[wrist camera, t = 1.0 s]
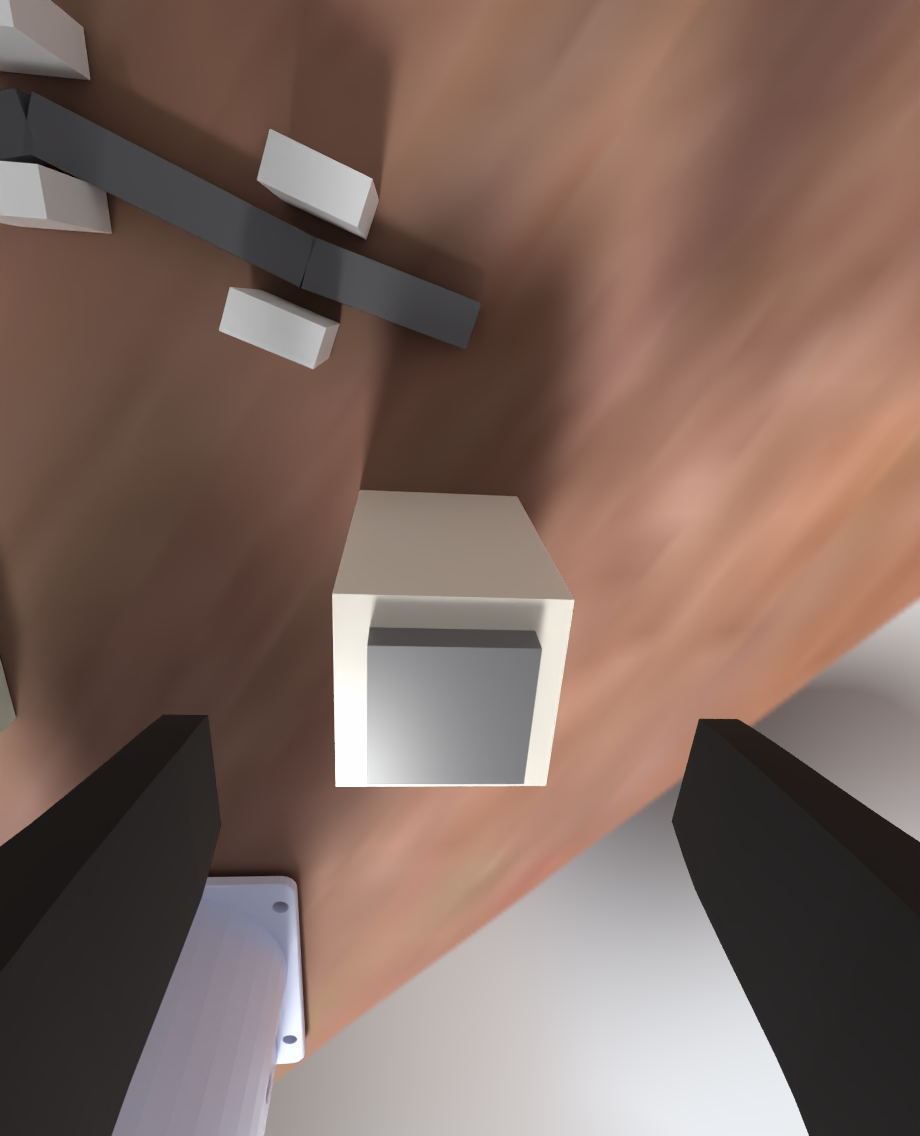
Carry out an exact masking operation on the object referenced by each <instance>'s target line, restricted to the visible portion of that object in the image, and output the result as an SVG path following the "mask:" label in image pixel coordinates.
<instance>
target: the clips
mask: <svg viewBox="0 0 920 1136" xmlns="http://www.w3.org/2000/svg"><path fill="white" fill-rule="evenodd" d="M0 71H3V72H13V73H23V74H33V75H43V76H53V77H63V78H74V79H84V80H91V79H90V72H89V65H88V58H87V51H86V43H85V36H84V29H83V27H82V26H81V25H80V24H79V23H77V22H76V21H75V20H74V19H73V18H71V17H70V16H69V15H68V14H67V13H65V12H64V11H63V10H62V9H61V8H60V7H58V6H57V5H56V4H55V3H54V2H52V1H51V0H0ZM257 181H258V182H260V183H261V184H262V185H264V186H265V187H266V188H267V189H269V190H270V191H271V192H272V193H274V194H275V195H276V196H277V197H279V198H280V199H281V200H282V201H284V202H286V203H288V204H290V205H292V206H294V207H296V208H298V209H301V210H303V211H305V212H307V213H309V214H311V215H314V216H316V217H318V218H320V219H322V220H324V221H326V222H329V223H331V224H333V225H335V226H337V227H339V228H342V229H344V230H346V231H348V232H350V233H352V234H354V235H357V236H359V237H361V238H363V239H365V240H367V237H368V233H369V230H370V227H371V224H372V221H373V218H374V215H375V212H376V209H377V205H378V202H379V199H378V195H377V192H376V188H375V185H374V182H373V179H372V178H370V177H368V176H366V175H364V174H362V173H360V172H358V171H356V170H354V169H352V168H349V167H347V166H345V165H343V164H341V163H339V162H337V161H335V160H333V159H331V158H329V157H327V156H325V155H323V154H321V153H319V152H317V151H315V150H313V149H311V148H309V147H307V146H304V145H302V144H300V143H298V142H296V141H294V140H292V139H290V138H288V137H286V136H284V135H282V134H280V133H278V132H276V131H274V130H272V129H270V130H269V134H268V138H267V142H266V146H265V149H264V153H263V157H262V161H261V165H260V169H259V173H258V177H257ZM0 223H3V224H9V225H14V226H19V227H31V228H44V229H56V230H69V231H82V232H95V233H108V234H112V231H111V223H110V216H109V209H108V202H107V195H106V191H104V190H102V189H100V188H98V187H96V186H94V185H92V184H90V183H88V182H85V181H82V180H79V179H77V178H74V177H71V176H69V175H66V174H63V173H60V172H58V171H55V170H52V169H50V168H47V167H44V166H41V165H39V164H31V163H19V162H8V161H0ZM339 325H340V323H338V322H335V321H333V320H331V319H328V318H326V317H324V316H321V315H319V314H317V313H314V312H312V311H310V310H307V309H305V308H303V307H300V306H298V305H296V304H293V303H291V302H289V301H286V300H284V299H282V298H279V297H277V296H275V295H272V294H270V293H268V292H265V291H263V290H261V289H249V288H237V287H230V289H229V293H228V296H227V300H226V304H225V308H224V312H223V316H222V320H221V324H220V328H219V331H221V332H223V333H226V334H228V335H231V336H233V337H235V338H238V339H240V340H243V341H245V342H248V343H250V344H253V345H255V346H257V347H260V348H262V349H265V350H267V351H270V352H272V353H275V354H277V355H279V356H282V357H284V358H287V359H289V360H292V361H294V362H297V363H299V364H301V365H304V366H306V367H309V368H311V369H314V368H316V367H317V366H318V365H320V364H321V363H323V362H324V361H326V360H327V359H328V358H329V356H330V353H331V350H332V347H333V343H334V340H335V337H336V334H337V331H338V328H339Z"/></svg>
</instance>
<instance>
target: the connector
mask: <svg viewBox="0 0 920 1136" xmlns="http://www.w3.org/2000/svg"><path fill="white" fill-rule="evenodd" d="M573 606H574V598H573V596H572V595H571V593H570V591H569V589H568V587H567V585H566V584H565V582H564V580H563V578H562V576H561V575H560V573H559V571H558V569H557V567H556V566H555V564H554V562H553V560H552V558H551V557H550V555H549V553H548V551H547V549H546V548H545V546H544V544H543V542H542V540H541V539H540V537H539V535H538V533H537V531H536V529H535V528H534V526H533V524H532V522H531V520H530V519H529V517H528V515H527V513H526V511H525V510H524V508H523V506H522V504H521V502H520V501H519V499H518V497H517V496H496V495H471V494H447V493H423V492H399V491H375V490H360V491H359V494H358V498H357V502H356V506H355V509H354V513H353V517H352V521H351V525H350V528H349V532H348V536H347V540H346V543H345V547H344V551H343V555H342V559H341V562H340V566H339V570H338V574H337V578H336V581H335V585H334V589H333V593H332V609H333V663H334V718H335V772H336V787H366V786H546V782H547V776H548V769H549V762H550V756H551V749H552V743H553V736H554V730H555V723H556V717H557V710H558V704H559V697H560V691H561V684H562V678H563V671H564V665H565V658H566V652H567V645H568V639H569V632H570V626H571V619H572V613H573Z"/></svg>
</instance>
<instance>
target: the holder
mask: <svg viewBox="0 0 920 1136" xmlns="http://www.w3.org/2000/svg"><path fill="white" fill-rule="evenodd" d="M15 719H16V716H15V712H14V709H13V705H12V701H11V697H10V694H9V690H8V686H7V682H6V679H5V675H4V671H3V667H2V663H1V660H0V735H1V734H2V733H3V732H4V731H5V729H6V728H7V727H8V726H9V725H10V724H11V723H12V722H13V721H14V720H15Z"/></svg>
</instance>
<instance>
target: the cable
mask: <svg viewBox="0 0 920 1136" xmlns="http://www.w3.org/2000/svg"><path fill="white" fill-rule="evenodd" d="M0 161H8V162H19V163H31V164H39V165H44V164H51V165H53V166H55V167H57V168H59V169H61V170H63V171H65V172H67V173H69V174H71V175H73V176H75V177H77V178H79V179H81V180H83V181H86V182H88V183H90V184H92V185H94V186H96V187H98V188H100V189H102V190H104V191H106V192H108V193H110V194H112V195H114V196H116V197H118V198H120V199H122V200H124V201H126V202H128V203H130V204H132V205H134V206H136V207H138V208H140V209H142V210H144V211H146V212H148V213H150V214H152V215H154V216H156V217H158V218H160V219H162V220H164V221H166V222H168V223H170V224H172V225H174V226H177V227H179V228H181V229H183V230H185V231H187V232H189V233H191V234H193V235H195V236H197V237H199V238H201V239H203V240H205V241H207V242H209V243H211V244H213V245H215V246H217V247H219V248H221V249H223V250H225V251H227V252H229V253H231V254H233V255H235V256H237V257H239V258H241V259H243V260H245V261H247V262H249V263H251V264H253V265H255V266H257V267H259V268H261V269H263V270H265V271H268V272H270V273H272V274H274V275H276V276H278V277H280V278H282V279H284V280H286V281H288V282H290V283H292V284H294V285H296V286H298V287H301V288H303V289H305V290H308V291H311V292H313V293H316V294H319V295H321V296H324V297H327V298H329V299H332V300H335V301H337V302H340V303H343V304H345V305H348V306H351V307H353V308H356V309H359V310H361V311H364V312H366V313H369V314H372V315H374V316H377V317H380V318H382V319H385V320H388V321H390V322H393V323H396V324H398V325H401V326H404V327H406V328H409V329H412V330H414V331H417V332H420V333H422V334H425V335H428V336H430V337H433V338H436V339H438V340H441V341H444V342H446V343H449V344H452V345H454V346H457V347H460V348H462V349H465V350H466V348H467V345H468V342H469V339H470V337H471V334H472V331H473V328H474V325H475V322H476V319H477V316H478V313H479V310H480V307H481V304H482V303H480V302H478V301H475V300H473V299H470V298H468V297H465V296H463V295H460V294H458V293H455V292H452V291H450V290H447V289H445V288H442V287H440V286H437V285H435V284H432V283H430V282H427V281H425V280H422V279H420V278H417V277H414V276H412V275H409V274H407V273H404V272H402V271H399V270H397V269H394V268H392V267H389V266H387V265H384V264H381V263H379V262H376V261H374V260H371V259H369V258H366V257H364V256H361V255H359V254H356V253H354V252H351V251H349V250H346V249H343V248H341V247H338V246H336V245H333V244H331V243H328V242H326V241H323V240H321V239H318V238H316V237H313V236H311V235H309V234H307V233H306V232H304V231H302V230H300V229H298V228H296V227H294V226H292V225H290V224H288V223H286V222H284V221H282V220H280V219H279V218H277V217H275V216H273V215H271V214H269V213H267V212H265V211H263V210H261V209H259V208H257V207H255V206H253V205H251V204H250V203H248V202H246V201H244V200H242V199H240V198H238V197H236V196H234V195H232V194H230V193H228V192H226V191H224V190H222V189H221V188H219V187H217V186H215V185H213V184H211V183H209V182H207V181H205V180H203V179H201V178H199V177H197V176H195V175H193V174H192V173H190V172H188V171H186V170H184V169H182V168H180V167H178V166H176V165H174V164H172V163H170V162H168V161H166V160H164V159H163V158H161V157H159V156H157V155H155V154H153V153H151V152H149V151H147V150H145V149H143V148H141V147H139V146H137V145H135V144H134V143H132V142H130V141H128V140H126V139H124V138H122V137H120V136H118V135H116V134H114V133H112V132H110V131H108V130H107V129H105V128H103V127H101V126H99V125H97V124H95V123H93V122H91V121H89V120H87V119H85V118H83V117H81V116H79V115H78V114H76V113H74V112H72V111H70V110H68V109H66V108H64V107H62V106H60V105H58V104H56V103H54V102H52V101H50V100H49V99H47V98H45V97H43V96H41V95H39V94H37V93H35V92H33V91H32V93H31V97H30V96H29V95H27V94H25V93H23V92H21V91H19V90H17V89H16V88H11V89H5V90H0Z"/></svg>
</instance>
